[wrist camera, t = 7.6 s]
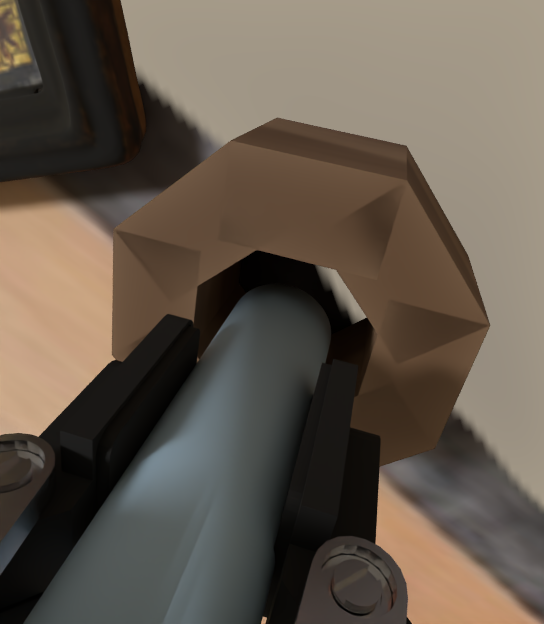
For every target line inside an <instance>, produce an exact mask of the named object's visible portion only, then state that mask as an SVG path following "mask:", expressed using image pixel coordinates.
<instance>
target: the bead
mask: <svg viewBox="0 0 544 624" xmlns="http://www.w3.org/2000/svg"><path fill="white" fill-rule="evenodd" d="M256 250H259V251H263V252H267V253H271V254H275V255H279V256H283V257H287V258H291V259H295V260H299V261H303V262H307V263H311V264H315V265H319V266H323V267H327V268H331V269H335V270H337V272H338V274H339V275H340V276H341V278H342V280H343V281H344V283H345V284H346V286H347V287H348V289H349V290H350V292H351V293H352V295H353V296H354V298H355V299H356V301H357V303H358V304H359V306H360V307H361V309H362V310H363V312H364V313H365V315H366V317H367V318H365V319H363V320H361V321H359V322H357V323H355V324H353V325H350V326H348V327H346V328H344V329H342V330H340V331H338V332H336V333H334V334H332V335H331V341H330V346H329V350H328V354H327V358H326V362H325V363H326V364H330V365H332V362H333V359H337V360H340V361H344V362H348V363H351V364H355V365H358V373H357V380H356V388H355V395H354V402H353V409H352V417H351V424H350V427H351V428H355V429H358V430H362V431H365V432H369V433H372V434H375V435H379V436H380V438H381V446H380V465H379V467H380V466H383V465H386V464H389V463H392V462H395V461H398V460H401V459H404V458H407V457H410V456H413V455H416V454H419V453H422V452H426V451H429V450H432V449H435V447H436V445H437V443H438V440H439V438H440V436H441V434H442V432H443V429H444V427H445V425H446V423H447V420H448V418H449V416H450V414H451V412H452V409H453V407H454V405H455V403H456V400H457V398H458V396H459V394H460V392H461V389H462V387H463V385H464V382H465V380H466V378H467V376H468V374H469V372H470V369H471V367H472V365H473V363H474V360H475V358H476V356H477V354H478V352H479V349H480V347H481V344H482V343H483V340H484V338H485V336H486V334H487V331H488V329H489V327H490V323H489V320H488V317H487V314H486V311H485V307H484V304H483V301H482V298H481V295H480V292H479V289H478V286H477V282H476V279H475V276H474V273H473V270H472V266H471V263H470V260H469V257H468V255H467V253H466V251H465V249H464V247H463V246H462V244H461V242H460V241H459V239H458V237H457V235H456V233H455V231H454V230H453V228H452V226H451V224H450V223H449V221H448V219H447V217H446V216H445V214H444V212H443V210H442V209H441V207H440V205H439V203H438V201H437V199H436V198H435V196H434V194H433V192H432V190H431V189H430V187H429V185H428V184H427V182H426V180H425V178H424V176H423V175H422V173H421V171H420V169H419V168H418V166H417V164H416V162H415V160H414V158H413V157H412V155H411V153H410V151H409V150H408V148H407V146H405V145H400V144H396V143H391V142H387V141H382V140H377V139H373V138H368V137H364V136H359V135H354V134H350V133H345V132H341V131H335V130H331V129H327V128H322V127H317V126H313V125H308V124H304V123H299V122H295V121H290V120H285V119H281V118H276V119H273V120H272V121H269V122H267V123H265V124H264V125H261V126H259V127H257V128H255V129H253V130H251V131H249V132H247V133H245V134H243V135H241V136H239V137H237V138H235V139H233V140H231V141H230V142H228V143H227V144H226V145H224V146H223V147H222V148H220V149H219V150H218V151H216V152H215V153H214V154H212V155H211V156H210V157H208V158H207V159H206V160H204V161H203V162H202V163H200V164H199V165H198V166H196V167H195V168H194V169H192V170H191V171H190V172H188V173H187V174H186V175H184V176H183V177H182V178H180V179H179V180H178V181H176V182H175V183H174V184H173V185H171V186H170V187H169V188H167V189H166V190H165V191H163V192H162V193H161V194H159V195H158V196H157V197H155V198H154V199H153V200H151V201H150V202H149V203H147V204H146V205H145V206H143V207H142V208H141V209H139V210H138V211H137V212H135V213H134V214H133V215H131V216H130V217H129V218H127V219H126V220H125V221H123V222H122V223H121V224H119V225H118V226H117V227H115V228H114V236H113V311H112V355H113V357H114V358H115V359H116V360H118V361H122V362H123V361H124V360H125V359H126V358H127V357H128V355H129V354H130V353H131V352H132V351H133V350H134V349H135V348H136V347H137V346H138V345H139V343H140V342H141V341H142V340H143V339H144V338H145V337H146V336H147V335H148V334H149V333H150V331H151V330H152V329H153V328H154V327H155V326H156V325H157V324H158V323H159V322H160V320H161V319H162V318H163V317H164V316H165V315H166V314H171V315H175V316H179V317H182V318H186V319H190V320H192V321H193V327H194V328H198V329H199V330H200V339H199V347H198V356H197V362H198V361H199V359H200V358H201V356H202V355H203V353H204V352H205V350H206V349H207V347H208V346H209V344H210V343H211V341H212V340H213V338H214V337H215V335H216V334H217V332H218V331H219V329H220V328H221V326H222V325H223V323H224V322H225V320H226V319H227V317H228V316H229V314H230V313H231V311H232V310H233V308H234V307H235V305H236V304H237V302H238V301H239V300H240V299H241V297H243V296H244V295H245V294H246V292H245V291H244V289H243V288H242V286H241V285H240V284H239V278H240V271H241V265H242V259H243V258H244V257H246V256H248V255H249V254H251V253H252V252H254V251H256Z"/></svg>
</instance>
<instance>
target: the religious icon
mask: <svg viewBox="0 0 544 624" xmlns="http://www.w3.org/2000/svg"><path fill="white" fill-rule="evenodd" d="M145 132H146V119H145V113H144V108H143V103H142V99H141V94H140V89H139V85H138V81H137V77H136V72H135V67H134V62H133V57H132V52H131V47H130V42H129V38H128V32H127V28H126V23H125V19H124V15H123V10H122V5H121V1H120V0H0V182H5V181H13V180H20V179H28V178H35V177H42V176H50V175H58V174H65V173H73V172H81V171H88V170H96V169H103V168H109V167H114V166H118V165H122V164H124V163H127V162H129V161H131V160H132V159H133V158H135V157H136V155H137V154H138V153H139V151H140V146H141V142H142V140H143V138H144V135H145Z"/></svg>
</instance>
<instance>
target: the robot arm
mask: <svg viewBox="0 0 544 624" xmlns="http://www.w3.org/2000/svg"><path fill="white" fill-rule="evenodd" d="M199 339H200V330H199V329H198V328H194V327H193V321H192V320H190V319H186V318H182V317H179V316H175V315H171V314H166V315H165V316H164V317H163V318H162V319H161V320H160V322H159V323H158V324H157V325H156V326H155V327H154V328H153V329H152V330H151V331H150V333H149V334H148V335H147V336H146V337H145V338H144V339H143V340H142V341H141V342H140V343H139V345H138V346H137V347H136V348H135V349H134V350H133V351H132V352H131V353H130V354H129V355H128V357H127V358H126V359H125V360H124V361H123V362H122V361H118V360H114V361H112V362H110V363H109V364H108V365H107V366H106V367H105V368H104V369H103V370H102V371H101V372H100V373H99V374H98V375H97V376H96V377H95V378H94V379H93V381H92V382H91V383H90V384H89V385H88V386H87V387H86V388H85V389H84V390H83V391H82V392H81V393H80V394H79V395H78V396H77V397H76V398H75V399H74V400H73V401H72V402H71V403H70V405H69V406H68V407H67V408H66V409H65V410H64V411H63V412H62V413H61V414H60V415H59V416H58V417H57V418H56V419H55V420H54V421H53V422H52V423H51V424H50V425H49V426H48V428H47V429H46V430H45V431H44V432H43V433H42V434H41V435H40V436H39V437H37V436H34V435H30V434H22V433H15V434H4V435H0V624H23V623H24V621H25V620H26V618H27V617H28V615H29V614H30V612H31V611H32V610H33V608H34V607H35V605H36V604H37V602H38V601H39V599H40V598H41V596H42V595H43V593H44V592H45V590H46V589H47V587H48V586H49V584H50V583H51V581H52V580H53V578H54V577H55V575H56V574H57V572H58V571H59V569H60V568H61V566H62V565H63V563H64V562H65V560H66V559H67V557H68V556H69V554H70V553H71V551H72V550H73V548H74V547H75V545H76V544H77V542H78V541H79V539H80V538H81V536H82V535H83V533H84V532H85V530H86V529H87V527H88V526H89V524H90V523H91V521H92V520H93V518H94V517H95V515H96V514H97V512H98V511H99V509H100V508H101V506H102V505H103V503H104V502H105V500H106V499H107V497H108V496H109V494H110V493H111V491H112V490H113V488H114V487H115V485H116V484H117V482H118V481H119V479H120V478H121V476H122V475H123V473H124V472H125V470H126V469H127V467H128V466H129V464H130V463H131V461H132V460H133V458H134V457H135V455H136V454H137V452H138V451H139V449H140V448H141V446H142V445H143V443H144V442H145V440H146V439H147V437H148V436H149V434H150V433H151V431H152V430H153V428H154V427H155V425H156V424H157V422H158V421H159V419H160V418H161V416H162V415H163V413H164V412H165V410H166V409H167V407H168V406H169V404H170V403H171V401H172V400H173V398H174V397H175V395H176V394H177V392H178V391H179V389H180V388H181V386H182V385H183V383H184V382H185V380H186V379H187V377H188V376H189V374H190V373H191V371H192V370H193V368H194V367H195V365H196V364H197V356H198V347H199ZM357 373H358V365H355V364H351V363H348V362H344V361H340V360H337V359H333V362H332V365H330V364H326V363H322V365H321V368H320V372H319V376H318V380H317V383H316V387H315V391H314V395H313V398H312V402H311V406H310V410H309V414H308V418H307V421H306V425H305V429H304V433H303V437H302V441H301V444H300V448H299V452H298V456H297V460H296V464H295V468H294V471H293V475H292V479H291V483H290V487H289V491H288V494H287V498H286V502H285V506H284V510H283V514H282V517H281V521H280V525H279V529H278V533H277V537H276V541H275V544H274V553H275V568H274V573H273V577H272V581H271V585H270V589H269V593H268V597H267V601H266V605H265V609H264V613H263V616H264V617H266V618H267V620H266V624H412V623H411V622H410V620H409V619H408V618H407V603H408V595H407V585H406V582H405V579H404V577H403V574H402V572H401V569H400V568H399V567H398V565H397V564H396V563H395V561H394V560H393V558H392V557H391V556H390V555H389V554H388V553H386V552H385V551H384V550H383V549H382V548H381V547H379V546H378V545H376V544H375V541H376V522H377V503H378V484H379V465H380V446H381V438H380V436H379V435H375V434H372V433H369V432H365V431H362V430H358V429H355V428H351V427H350V424H351V417H352V409H353V402H354V395H355V388H356V380H357Z"/></svg>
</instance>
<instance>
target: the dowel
mask: <svg viewBox="0 0 544 624" xmlns="http://www.w3.org/2000/svg"><path fill="white" fill-rule="evenodd" d="M330 341H331V326H330V322H329V319H328V317H327V315H326V313H325V311H324V309H323V308H322V307H321V305H320V304H319V303H318V302H317V301H316V300H315V299H314V298H313V297H311V296H310V295H309V294H307V293H306V292H304V291H302V290H300V289H298V288H296V287H292V286H289V285H284V284H267V285H262V286H259V287H256V288H254V289H252V290H250V291H249V292H247V293H246V294H245V295H244V296H243V297H241V299H240V300H239V301H238V302H237V304H236V305H235V307H234V308H233V310H232V311H231V313H230V314H229V316H228V317H227V319H226V320H225V322H224V323H223V325H222V326H221V328H220V329H219V331H218V332H217V334H216V335H215V337H214V338H213V340H212V341H211V343H210V344H209V346H208V347H207V349H206V350H205V352H204V353H203V355H202V356H201V358H200V359H199V361H198V362H197V364H196V365H195V367H194V368H193V370H192V371H191V373H190V374H189V376H188V377H187V379H186V380H185V382H184V383H183V385H182V386H181V388H180V389H179V391H178V392H177V394H176V395H175V397H174V398H173V400H172V401H171V403H170V404H169V406H168V407H167V409H166V410H165V412H164V413H163V415H162V416H161V418H160V419H159V421H158V422H157V424H156V425H155V427H154V428H153V430H152V431H151V433H150V434H149V436H148V437H147V439H146V440H145V442H144V443H143V445H142V446H141V448H140V449H139V451H138V452H137V454H136V455H135V457H134V458H133V460H132V461H131V463H130V464H129V466H128V467H127V469H126V470H125V472H124V473H123V475H122V476H121V478H120V479H119V481H118V482H117V484H116V485H115V487H114V488H113V490H112V491H111V493H110V494H109V496H108V497H107V499H106V500H105V502H104V503H103V505H102V506H101V508H100V509H99V511H98V512H97V514H96V515H95V517H94V518H93V520H92V521H91V523H90V524H89V526H88V527H87V529H86V530H85V532H84V533H83V535H82V536H81V538H80V539H79V541H78V542H77V544H76V545H75V547H74V548H73V550H72V551H71V553H70V554H69V556H68V557H67V559H66V560H65V562H64V563H63V565H62V566H61V568H60V569H59V571H58V572H57V574H56V575H55V577H54V578H53V580H52V581H51V583H50V584H49V586H48V587H47V589H46V590H45V592H44V593H43V595H42V596H41V598H40V599H39V601H38V602H37V604H36V605H35V607H34V608H33V610H32V611H31V612H30V614H29V615H28V617H27V618H26V620H25V621H24V623H23V624H261V621H262V617H263V613H264V609H265V605H266V601H267V597H268V593H269V589H270V585H271V581H272V577H273V573H274V568H275V553H274V544H275V541H276V537H277V533H278V529H279V525H280V521H281V517H282V514H283V510H284V506H285V502H286V498H287V494H288V491H289V487H290V483H291V479H292V475H293V471H294V468H295V464H296V460H297V456H298V452H299V448H300V444H301V441H302V437H303V433H304V429H305V425H306V421H307V418H308V414H309V410H310V406H311V402H312V398H313V395H314V391H315V387H316V383H317V380H318V376H319V372H320V368H321V365H322V363H325V362H326V358H327V354H328V350H329V346H330Z"/></svg>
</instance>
